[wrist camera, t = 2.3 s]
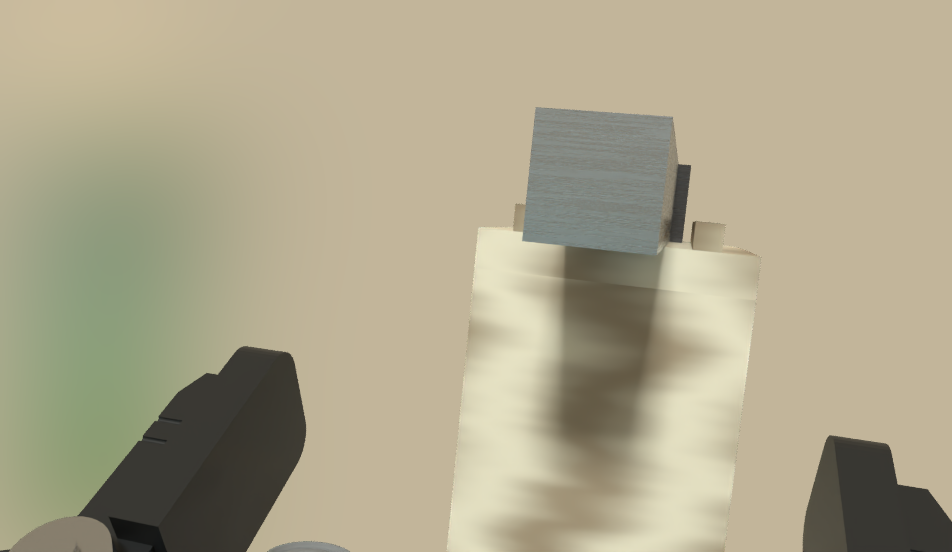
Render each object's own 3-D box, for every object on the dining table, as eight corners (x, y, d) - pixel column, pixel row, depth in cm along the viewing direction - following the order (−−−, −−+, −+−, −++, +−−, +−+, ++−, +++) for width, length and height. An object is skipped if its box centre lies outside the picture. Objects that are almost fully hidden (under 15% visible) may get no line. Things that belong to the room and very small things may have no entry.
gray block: (682, 241, 43) (690, 171, 43) (678, 258, 22) (695, 118, 21) (590, 231, 44) (598, 163, 44) (501, 239, 23) (514, 105, 22)
